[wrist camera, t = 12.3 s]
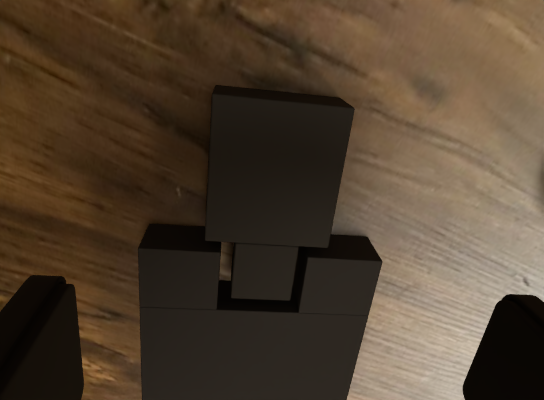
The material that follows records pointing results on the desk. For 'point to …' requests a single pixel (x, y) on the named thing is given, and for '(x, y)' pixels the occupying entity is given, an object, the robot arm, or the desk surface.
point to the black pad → (273, 181)
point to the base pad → (250, 322)
